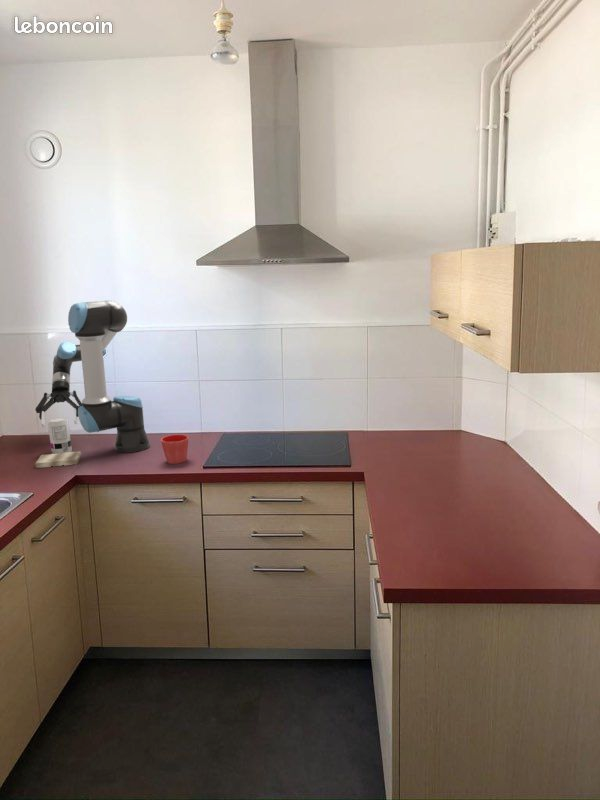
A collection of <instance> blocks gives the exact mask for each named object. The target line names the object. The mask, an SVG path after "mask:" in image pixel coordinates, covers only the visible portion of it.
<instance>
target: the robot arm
mask: <svg viewBox="0 0 600 800" xmlns="http://www.w3.org/2000/svg"><path fill="white" fill-rule="evenodd" d="M67 317H68V319H67V321H68V323H67V324H68V326H69V331H70V332H71V333H73V334H74V336H75V338H77V339H78V340H79V344H74V342H71V341H70V342H69V341H63V342H61V343H60V344H59V346H58V348H57V350H56V354H55V355H54V356H53V362H52V379H51V381H52V382H51V393H47V392H44V393H43V397H42V398H41V399H40V401H39V403H38V404H37V406H36V407H35V409H34V410H35V412H36V414H39V416H38V417H39V419H40V420H41V422H40V425H41V426H42V428H45V427H46V425H45V424H46V412H47V411H48V410H49V409H50V408H51V407H52V406H53V405H55V404H56V403H57V404H58V403H65V402H66V403H68V404H69V405H70V406H71V407H72V408H73V422H74V424H75V425H77V424H78V419H79V422H80V425H81V426H82V428H83V429H84V431H85V432H87V433H90V434H91V433H99V432H102V431H107V430H112V429H113V430H114V429H116V436H115V441H114V450H115V452H117V453H135V452H141V451H143V450H144V451H145V450H147V449H149V448H150V447H151V442H150V438H149V437H148V434H147V432H146V429H145V422H144V411H143V410H144V409H143V408H144V407H143V404H142V402H143V401H142V400H141V398H140V397H138V396H135V395H116V396H113V399H112V398H111V397H110V396H109V395H108V394H107V380H106V369H105V363H104V362H105V360H104V358H103V356H104V355H105V354H106V349H105V348H108V346H109V344H110V343H111V341H112V340H113V339H114V338H115V336H116V335H117V333H120V332H121V331H123V330H124V328H125V327H126V325H127V322H128V315H127V311H126V309H125V308H124V307H123V306H122V305H121V304H120V303H118V302H116V301H113V300H100V301H83V302H78V303H77V302H76V303H73V304H72V305H71V306H70V308H69V311H68V316H67ZM75 362H76V363H77V362H81V367H82V368H81V369H82V375H83V376H82V377H83V386H84V388H83V389H84V398H83V399H82V400H81V399H80V398H79V396H78V394H77V391H76V390H75V389H74V390H72V391H71V392H70V389H71V387H70V383H71V368H72V365H73V363H75ZM70 397H73V398H74V400H75V401H76V403H75V402H74V401H73V400H72V399H71V398H70ZM48 399H49V400H48Z"/></svg>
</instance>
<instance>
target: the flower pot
mask: <svg viewBox="0 0 600 800" xmlns="http://www.w3.org/2000/svg"><path fill="white" fill-rule="evenodd" d="M160 443H161V446H162V450H163V453H164V456H165V459H166V462H167V463H168V464H173V465H175V464H181V463H184V462H186V461H187V458H188V457H187V455H188V446H189V436H188V435H184V434H170V435H167V436H163V437H161V439H160Z"/></svg>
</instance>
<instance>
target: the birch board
mask: <svg viewBox="0 0 600 800" xmlns="http://www.w3.org/2000/svg"><path fill="white" fill-rule="evenodd" d="M80 457H82V451H71V452H67V453H57V454H52V453H49V454H41V455H40V456H39V457H38V459H37V460H36V462H35V464H34V465H35V469H42V468H43V469H44V468H52V467H51V466H53V467H60V466H61V467H62V465H64V466H72V465H73V464H74V465H78V464H79V461H80V460H81V458H80ZM79 459H80V460H79ZM77 463H78V464H77Z"/></svg>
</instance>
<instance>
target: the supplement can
mask: <svg viewBox="0 0 600 800" xmlns="http://www.w3.org/2000/svg"><path fill="white" fill-rule="evenodd" d="M47 426H48V435H49V441H50V442H49V443H50V449H51V454H57V453H67V452H73V450H72V441H71V440H72V439H71V433H70V425H69V421H68V419H67V417H56V418H52V419H49V421H48V424H47Z"/></svg>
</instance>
